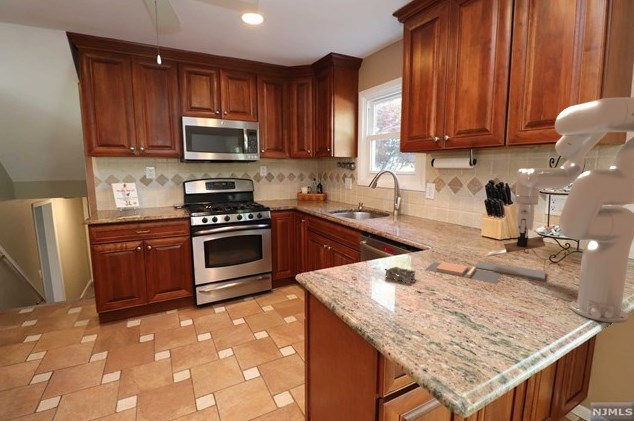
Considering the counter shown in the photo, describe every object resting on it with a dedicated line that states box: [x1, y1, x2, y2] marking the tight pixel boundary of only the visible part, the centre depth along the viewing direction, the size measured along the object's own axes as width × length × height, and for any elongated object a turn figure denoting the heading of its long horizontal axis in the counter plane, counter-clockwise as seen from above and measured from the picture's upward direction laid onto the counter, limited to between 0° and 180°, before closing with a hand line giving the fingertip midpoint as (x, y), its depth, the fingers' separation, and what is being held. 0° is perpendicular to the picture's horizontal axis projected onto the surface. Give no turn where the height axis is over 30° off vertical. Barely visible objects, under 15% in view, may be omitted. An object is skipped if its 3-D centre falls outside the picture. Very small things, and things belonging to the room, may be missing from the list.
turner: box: [486, 235, 546, 257], centre depth 124 cm, size 20×6×4 cm, turn 52°
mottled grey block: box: [384, 266, 417, 283], centre depth 120 cm, size 11×8×4 cm
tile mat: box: [424, 261, 502, 284], centre depth 125 cm, size 13×26×2 cm, turn 52°
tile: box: [436, 261, 469, 276], centre depth 127 cm, size 10×1×10 cm
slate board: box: [473, 260, 546, 282], centre depth 126 cm, size 10×24×1 cm, turn 52°
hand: (522, 245), depth 123 cm, fingers closed on turner, 2 cm apart
